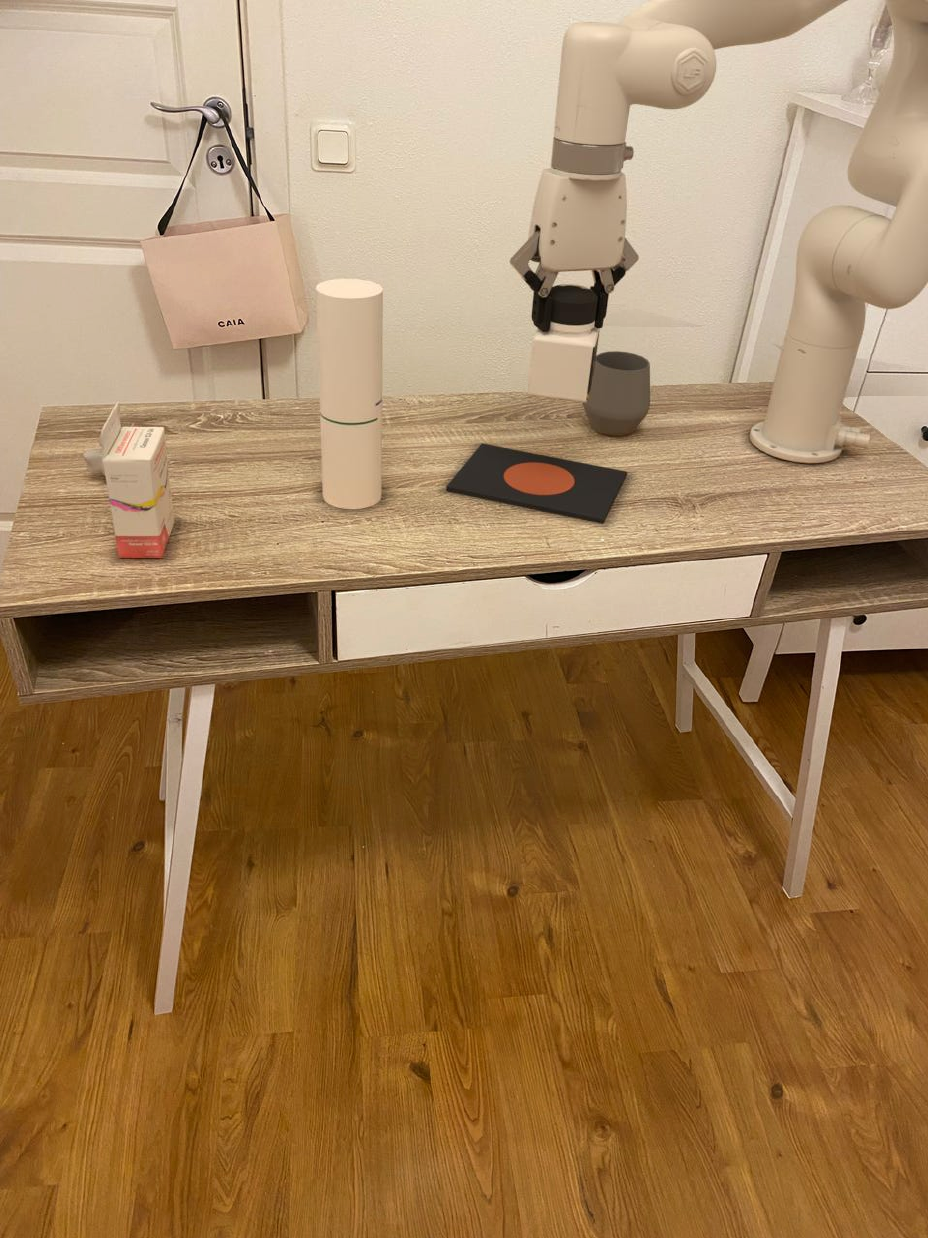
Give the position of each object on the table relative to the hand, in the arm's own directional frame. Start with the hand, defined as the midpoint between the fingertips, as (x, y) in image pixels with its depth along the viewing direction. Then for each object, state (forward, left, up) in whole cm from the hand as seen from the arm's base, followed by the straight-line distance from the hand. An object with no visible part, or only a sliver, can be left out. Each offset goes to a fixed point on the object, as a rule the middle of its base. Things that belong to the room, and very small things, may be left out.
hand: (567, 324), depth 116 cm
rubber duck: (+49, +22, -21) cm, 58 cm away
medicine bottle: (0, 0, -8) cm, 8 cm away
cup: (-4, -20, -20) cm, 29 cm away
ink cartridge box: (+37, +33, -20) cm, 54 cm away
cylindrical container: (+21, +14, -20) cm, 33 cm away
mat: (+1, +1, -20) cm, 20 cm away
